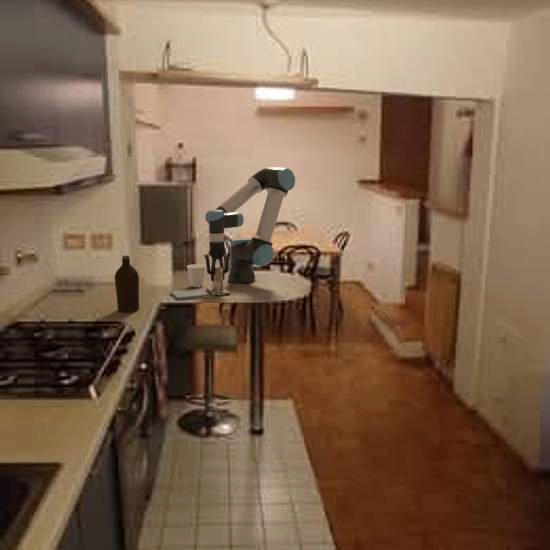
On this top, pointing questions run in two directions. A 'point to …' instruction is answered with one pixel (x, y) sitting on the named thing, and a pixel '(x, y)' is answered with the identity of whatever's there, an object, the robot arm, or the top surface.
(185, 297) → the board
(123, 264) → the olive oil
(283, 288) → the top surface
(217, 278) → the stub
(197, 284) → the cup
